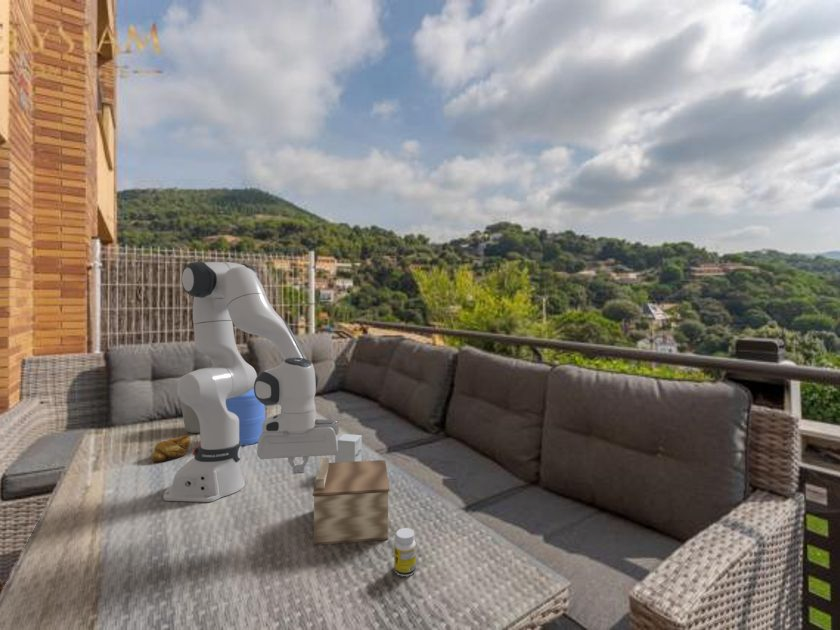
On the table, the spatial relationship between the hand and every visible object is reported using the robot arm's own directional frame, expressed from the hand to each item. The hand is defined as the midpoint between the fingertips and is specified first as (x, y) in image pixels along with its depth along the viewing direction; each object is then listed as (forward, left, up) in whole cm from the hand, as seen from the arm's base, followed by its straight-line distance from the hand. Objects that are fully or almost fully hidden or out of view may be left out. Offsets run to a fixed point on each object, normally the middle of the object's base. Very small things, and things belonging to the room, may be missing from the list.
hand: (298, 472), depth 104 cm
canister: (-57, +89, -15) cm, 107 cm away
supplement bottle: (+26, -21, -15) cm, 36 cm away
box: (+14, 0, -14) cm, 20 cm away
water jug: (-33, +72, -15) cm, 81 cm away
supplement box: (+12, +32, -15) cm, 37 cm away
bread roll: (-56, +56, -15) cm, 80 cm away
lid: (+14, 0, -2) cm, 14 cm away
